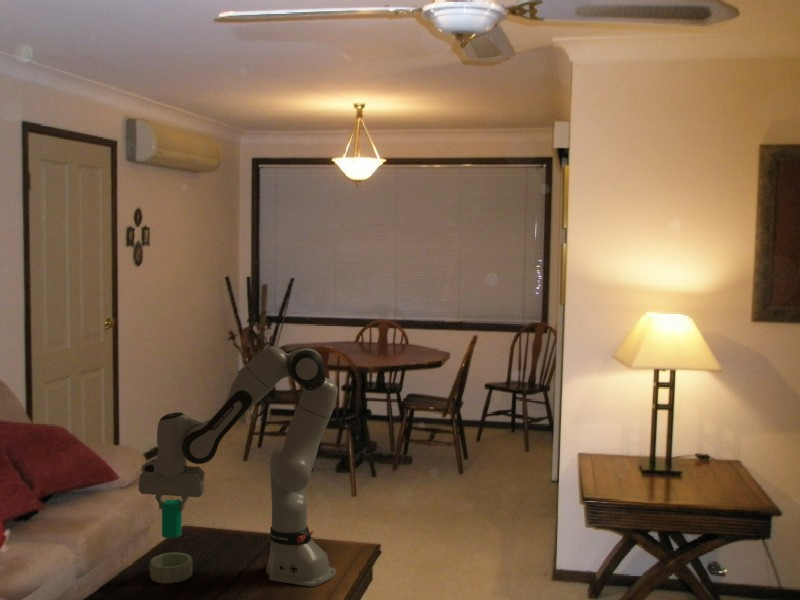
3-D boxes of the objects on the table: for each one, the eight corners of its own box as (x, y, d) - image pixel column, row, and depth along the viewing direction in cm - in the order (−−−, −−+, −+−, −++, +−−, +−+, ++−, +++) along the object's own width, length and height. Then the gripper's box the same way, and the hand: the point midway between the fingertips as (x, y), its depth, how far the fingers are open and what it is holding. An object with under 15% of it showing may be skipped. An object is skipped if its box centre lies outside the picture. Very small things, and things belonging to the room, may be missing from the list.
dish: (200, 572, 268) (200, 557, 267) (172, 586, 257) (172, 571, 257) (170, 564, 274) (170, 549, 273) (142, 577, 263) (141, 562, 262)
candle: (185, 533, 266) (185, 495, 265) (173, 539, 261) (174, 501, 260) (169, 530, 268) (169, 493, 268) (157, 536, 263) (157, 498, 262)
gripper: (207, 464, 265) (207, 507, 266) (144, 460, 267) (144, 503, 268) (200, 469, 258) (200, 514, 260) (136, 466, 261) (136, 510, 262)
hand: (171, 508), depth 264 cm, fingers closed on candle, 5 cm apart
